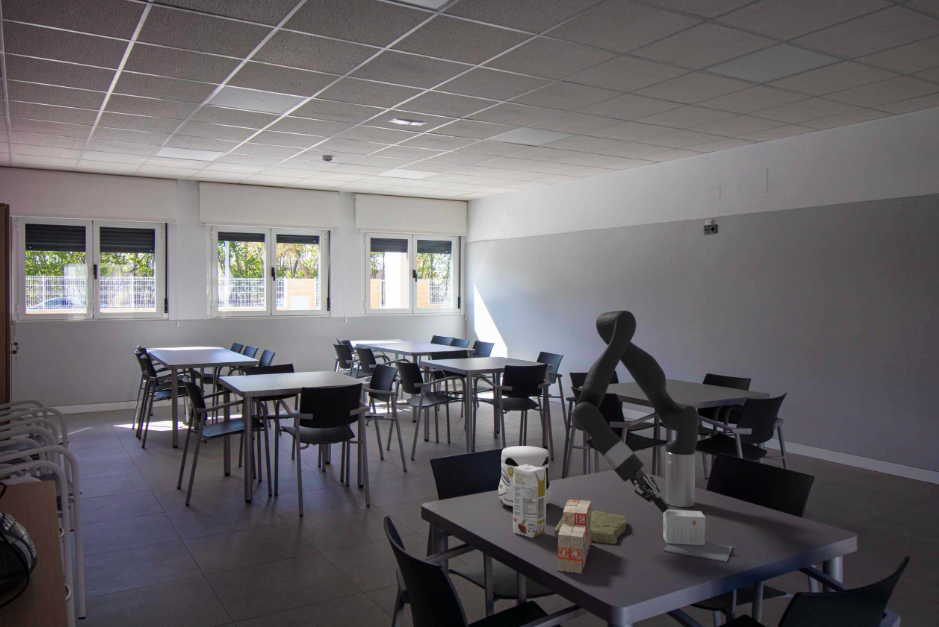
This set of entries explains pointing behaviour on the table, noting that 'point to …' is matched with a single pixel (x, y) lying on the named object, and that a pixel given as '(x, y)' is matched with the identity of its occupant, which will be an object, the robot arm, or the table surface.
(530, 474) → the juice carton
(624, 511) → the table surface
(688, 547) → the mat
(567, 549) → the stack of blocks
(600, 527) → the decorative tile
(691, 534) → the small box
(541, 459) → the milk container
